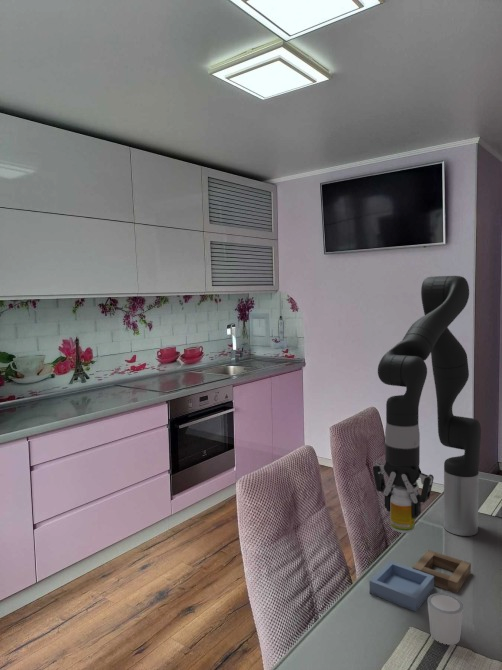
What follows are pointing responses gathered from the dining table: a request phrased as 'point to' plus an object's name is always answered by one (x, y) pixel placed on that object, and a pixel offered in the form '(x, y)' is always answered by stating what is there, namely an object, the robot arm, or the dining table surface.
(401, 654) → the dining table surface
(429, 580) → the tray
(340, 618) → the dining table surface
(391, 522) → the supplement bottle
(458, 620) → the shot glass
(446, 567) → the collar
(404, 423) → the robot arm
